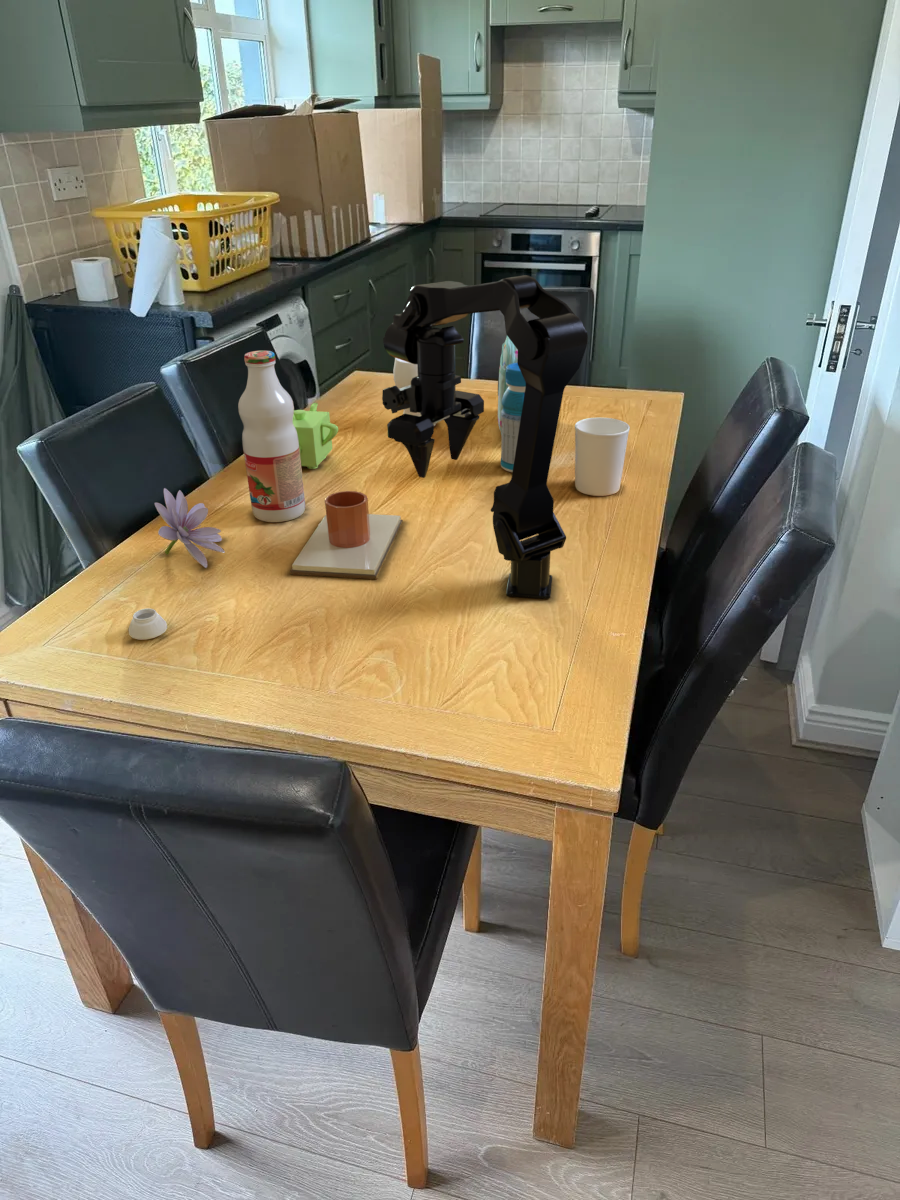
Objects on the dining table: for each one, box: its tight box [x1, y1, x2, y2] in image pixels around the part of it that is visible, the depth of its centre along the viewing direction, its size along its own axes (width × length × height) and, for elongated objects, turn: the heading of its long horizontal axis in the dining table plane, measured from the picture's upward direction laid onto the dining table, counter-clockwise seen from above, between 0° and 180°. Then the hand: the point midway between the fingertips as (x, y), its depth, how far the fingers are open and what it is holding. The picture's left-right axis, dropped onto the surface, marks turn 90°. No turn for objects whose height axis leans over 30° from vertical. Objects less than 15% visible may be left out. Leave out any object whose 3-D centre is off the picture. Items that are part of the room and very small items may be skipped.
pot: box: [324, 490, 370, 548], centre depth 135 cm, size 7×7×7 cm
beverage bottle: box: [500, 363, 526, 473], centre depth 163 cm, size 8×8×20 cm
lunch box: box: [497, 335, 518, 435], centre depth 184 cm, size 27×10×21 cm, turn 178°
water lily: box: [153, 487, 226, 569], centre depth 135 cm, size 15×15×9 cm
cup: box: [392, 357, 437, 427], centre depth 188 cm, size 11×11×15 cm
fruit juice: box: [237, 350, 306, 523], centre depth 143 cm, size 9×9×28 cm
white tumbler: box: [574, 416, 631, 497], centre depth 155 cm, size 10×10×12 cm
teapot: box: [293, 402, 339, 470], centre depth 169 cm, size 15×13×11 cm
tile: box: [289, 513, 404, 580], centre depth 137 cm, size 21×14×2 cm, turn 171°
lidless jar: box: [128, 607, 168, 641], centre depth 115 cm, size 5×3×5 cm
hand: (438, 468), depth 135 cm, fingers open, 9 cm apart
